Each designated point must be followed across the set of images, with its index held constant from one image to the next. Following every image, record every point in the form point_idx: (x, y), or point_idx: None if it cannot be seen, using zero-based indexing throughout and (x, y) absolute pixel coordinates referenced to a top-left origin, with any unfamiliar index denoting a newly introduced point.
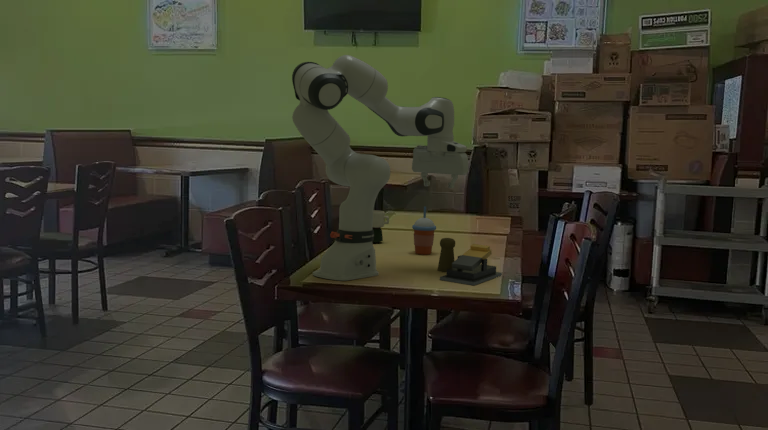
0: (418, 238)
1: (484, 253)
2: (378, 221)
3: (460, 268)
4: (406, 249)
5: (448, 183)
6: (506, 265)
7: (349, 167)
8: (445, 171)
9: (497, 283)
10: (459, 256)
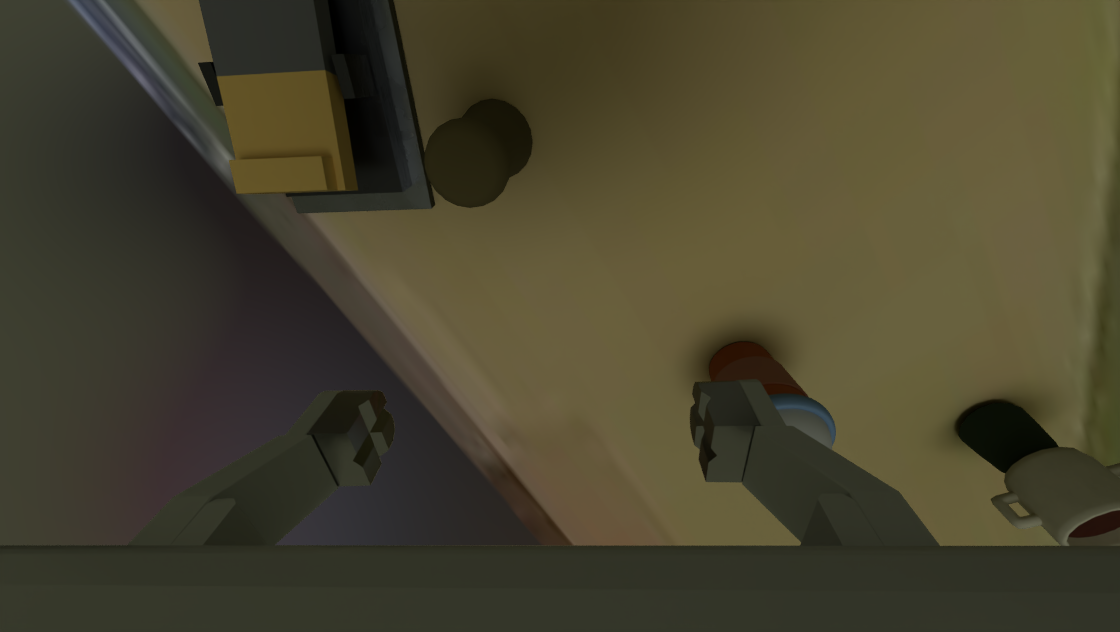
0: (768, 373)
1: (239, 133)
2: (1048, 477)
3: None
4: (823, 386)
5: (348, 424)
6: (420, 368)
7: None
8: (234, 592)
9: (195, 55)
10: (333, 54)
